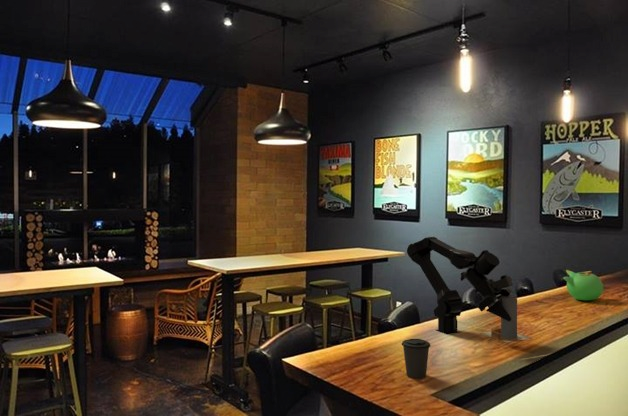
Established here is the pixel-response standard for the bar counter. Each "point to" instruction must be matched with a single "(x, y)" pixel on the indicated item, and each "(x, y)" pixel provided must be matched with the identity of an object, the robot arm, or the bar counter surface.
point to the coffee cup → (416, 357)
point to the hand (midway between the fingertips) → (513, 319)
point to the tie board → (520, 337)
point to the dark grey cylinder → (510, 326)
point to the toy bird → (584, 285)
